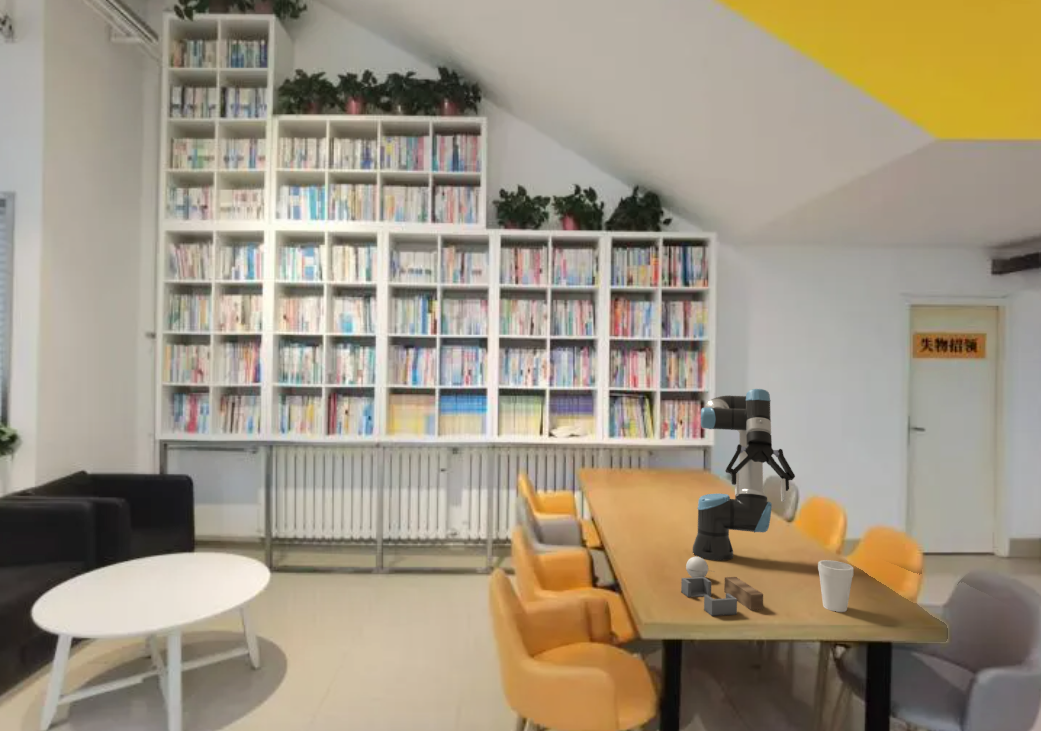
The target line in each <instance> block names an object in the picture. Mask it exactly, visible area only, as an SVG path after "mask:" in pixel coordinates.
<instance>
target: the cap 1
mask: <svg viewBox="0 0 1041 731" xmlns="http://www.w3.org/2000/svg"><path fill="white" fill-rule="evenodd" d="M680 583H681V585H680V586H681V587H680V588H681V589H680V590H681V591H680V593H681V594H683V595H684V596H686V597H687V598H701V597H703V598H704V595H708V596H710V597H711V596H712V581H711V580H710V579H708V578H706V576H705V577H681V582H680Z"/></svg>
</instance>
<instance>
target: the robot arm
mask: <svg viewBox="0 0 1041 731" xmlns="http://www.w3.org/2000/svg"><path fill="white" fill-rule="evenodd" d="M771 422H772V420H771V396H770V393H769V391H768V390H766V389H763V388H753V389H749V390H748V391H747V392H746V393H745V395H721V396H717V397H714V398H711V399H710V400H708V401H707V403H705V406H704V407H702V408H701V410H700V427H701V428H702V429H706V430H707V429H708V430H730V431H738V433H739V444H737V446H736V449H735V453H734V455H733V457H732V458H731V460H730V462H729V463H728V465H727V467H726V469H725V473H727V474H730V476H731V485H734V496H735V497H734V498H731V497H730V495H729V494H727V493H710V494H709V493H708V494H704V495H701V496H700V497H699V498H698V502H697V534H696V537H695V539H694V542H693V545H692V554H693V553H694V554H695V555H694V554H693V555H694V556H696V555H697V556H696V557H698V556H699V557H702V559H704V558H705V559H704V560H709V561H710V560H711V561H728V560H731V559H733V558H734V548H733V546H732V543H731V540H730V534H729V533H730V530H732V531H741V532H752V533H766V532H768V530H769V527H770V521H771V517H772V516H771V515H772V506H773V504H772V502H771V501H769V500H768V496H767V495H766V493H764V475H763V473H764V472H763V471H764V466H763V463H766V464H767V465H768V466H770V467H771V468H772V470H773V471H774V472H775V473H776V474H777V475H778V477H780V479H781V480H780V495H781V496H780V500H781V502H782V503H784V502H785V501H786V500H787V491H789V490H790V483H789V482H790V481H793V480H794V479H795V477H796V475H795V473H794V471H793V470H792V467H791V466H790V464H789V463H788V461H787V459H786V458H785V455H784V450H783V449H782V448H779V449H773V445H772V443H773V442H772V440H773V439H772V423H771ZM773 455H774V456H775V457H776V458H777V460H778V462H779V464H780V465H779V464H778V463H777V461H776V460H775V458H774V457H773ZM738 457H739V463H738V465H737V466H736V467H734V469H733V466H734V465H735V463H736V461H737V459H738Z"/></svg>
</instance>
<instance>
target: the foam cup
mask: <svg viewBox="0 0 1041 731" xmlns="http://www.w3.org/2000/svg"><path fill="white" fill-rule="evenodd" d="M817 562H818V563H817V570H818V574H819V583H820V591H821V599H822V600H821V601H822V606H823V608H824V609H827V610H828V611H831V612H835V611H836V612H835V613H845V612H847V610H848V606H849V599H850V593H851V587H852V581H853V577H854V567H853V565H851V564H848V563H846V562H843V561H837V560H830V559H827V560H826V559H823V560H819V561H817Z"/></svg>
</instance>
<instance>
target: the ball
mask: <svg viewBox="0 0 1041 731" xmlns="http://www.w3.org/2000/svg"><path fill="white" fill-rule="evenodd" d="M685 568H686V569H685V570H686V572H687V573H688V575H689V576H690V578H693V577H705V578H706V576H707V574H708V572H710V570H709V566H708V563H707V561H706V559H704V558H701V557H698V556H692V557H690V558H689V559H688V560H687V562H686V565H685ZM712 572H713V573H715V571H713V570H712Z"/></svg>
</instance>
